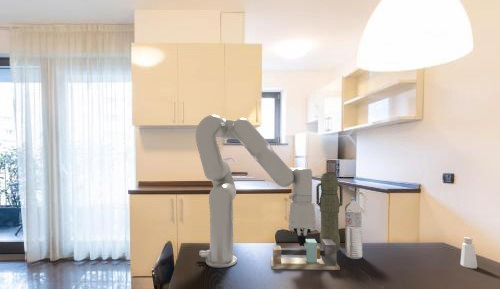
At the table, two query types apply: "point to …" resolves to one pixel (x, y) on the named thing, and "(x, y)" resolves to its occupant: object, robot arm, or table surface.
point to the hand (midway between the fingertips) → (301, 244)
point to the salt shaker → (468, 254)
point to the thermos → (329, 207)
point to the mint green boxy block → (311, 250)
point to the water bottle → (353, 230)
